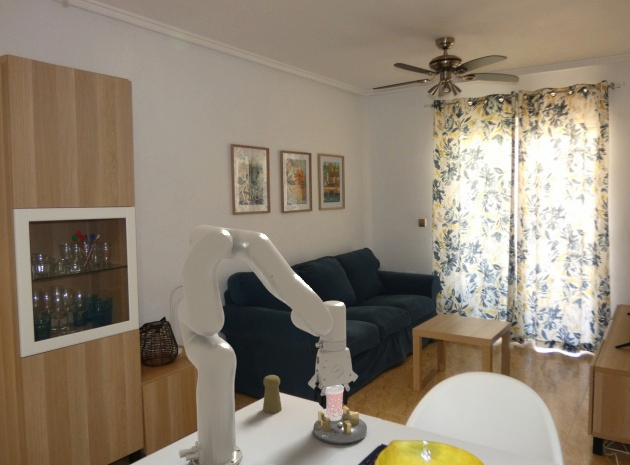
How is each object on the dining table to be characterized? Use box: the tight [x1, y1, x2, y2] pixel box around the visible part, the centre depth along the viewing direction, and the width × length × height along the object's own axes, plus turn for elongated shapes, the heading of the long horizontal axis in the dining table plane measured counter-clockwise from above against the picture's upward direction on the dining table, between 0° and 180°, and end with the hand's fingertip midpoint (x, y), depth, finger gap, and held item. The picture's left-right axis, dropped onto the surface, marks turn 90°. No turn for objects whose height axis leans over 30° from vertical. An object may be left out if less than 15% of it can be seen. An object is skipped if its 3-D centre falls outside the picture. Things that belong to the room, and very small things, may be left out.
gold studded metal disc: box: [313, 405, 368, 446], centre depth 144 cm, size 15×15×5 cm
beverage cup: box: [324, 385, 344, 421], centre depth 147 cm, size 6×6×14 cm
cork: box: [262, 374, 283, 415], centre depth 159 cm, size 6×6×11 cm
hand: (333, 404), depth 147 cm, fingers closed on beverage cup, 6 cm apart
